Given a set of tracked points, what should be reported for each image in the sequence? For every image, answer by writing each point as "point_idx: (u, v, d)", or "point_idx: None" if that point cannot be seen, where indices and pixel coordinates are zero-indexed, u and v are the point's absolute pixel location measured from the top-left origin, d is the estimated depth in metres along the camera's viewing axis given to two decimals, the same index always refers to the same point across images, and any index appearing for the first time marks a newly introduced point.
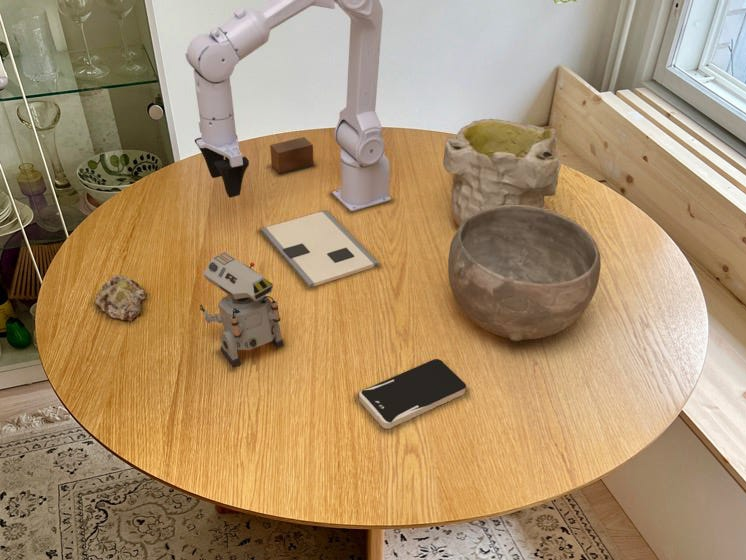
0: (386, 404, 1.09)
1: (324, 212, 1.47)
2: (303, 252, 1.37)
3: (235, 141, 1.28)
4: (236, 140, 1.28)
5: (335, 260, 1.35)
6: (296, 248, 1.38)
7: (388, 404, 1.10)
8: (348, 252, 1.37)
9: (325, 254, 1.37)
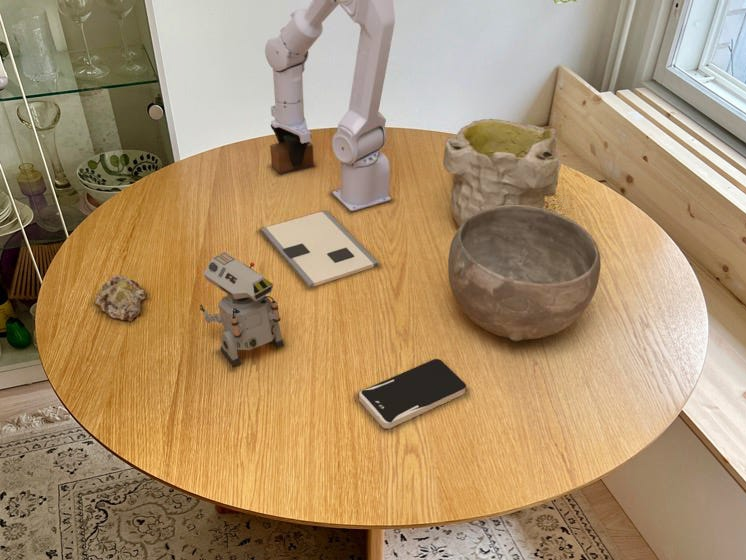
0: (386, 404, 1.09)
1: (324, 212, 1.47)
2: (303, 252, 1.37)
3: (303, 122, 1.53)
4: (304, 121, 1.53)
5: (335, 260, 1.35)
6: (296, 248, 1.38)
7: (388, 404, 1.10)
8: (348, 252, 1.37)
9: (325, 254, 1.37)
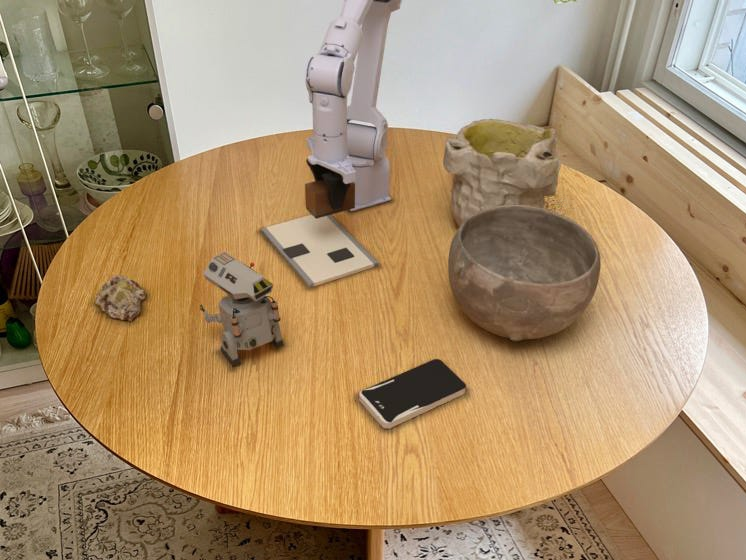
0: (386, 404, 1.09)
1: None
2: (303, 252, 1.37)
3: (346, 158, 1.28)
4: (347, 157, 1.29)
5: (335, 260, 1.35)
6: (296, 248, 1.38)
7: (388, 404, 1.10)
8: (348, 252, 1.37)
9: (325, 254, 1.37)
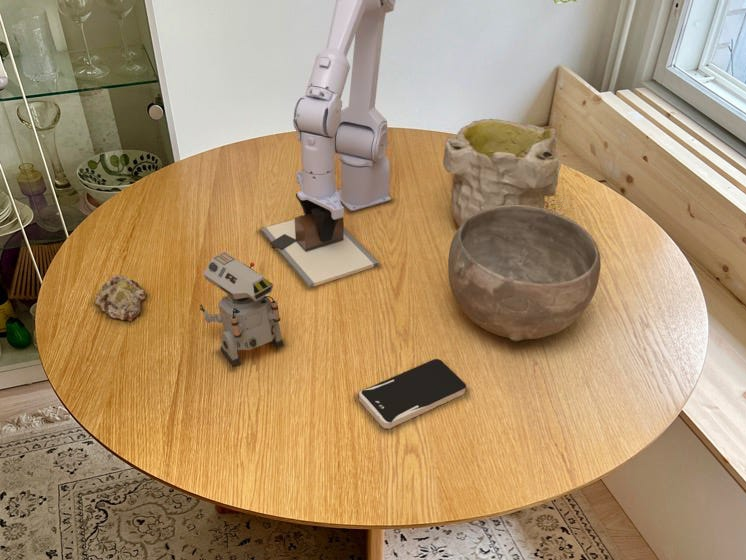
0: (386, 404, 1.09)
1: None
2: (291, 241, 1.39)
3: (335, 193, 1.32)
4: (335, 192, 1.32)
5: None
6: (282, 239, 1.39)
7: (388, 404, 1.10)
8: None
9: (325, 254, 1.37)
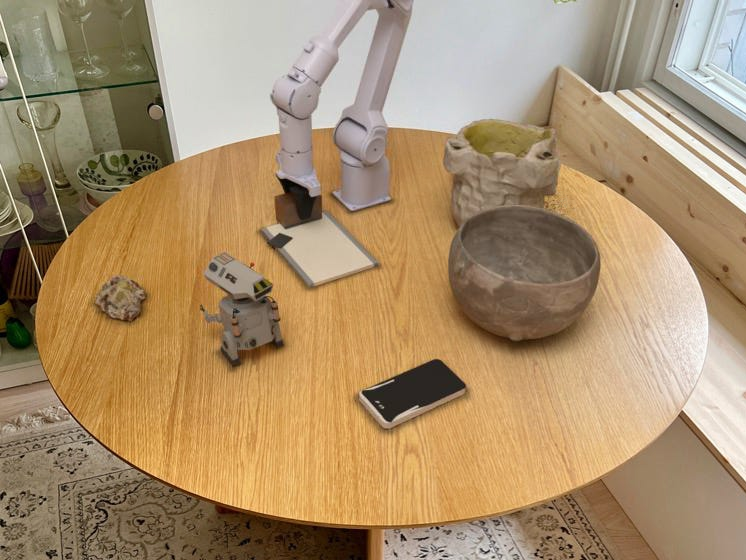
0: (386, 404, 1.09)
1: (324, 212, 1.47)
2: (288, 239, 1.39)
3: (312, 172, 1.37)
4: (313, 171, 1.37)
5: None
6: (278, 238, 1.40)
7: (388, 404, 1.10)
8: None
9: (325, 254, 1.37)
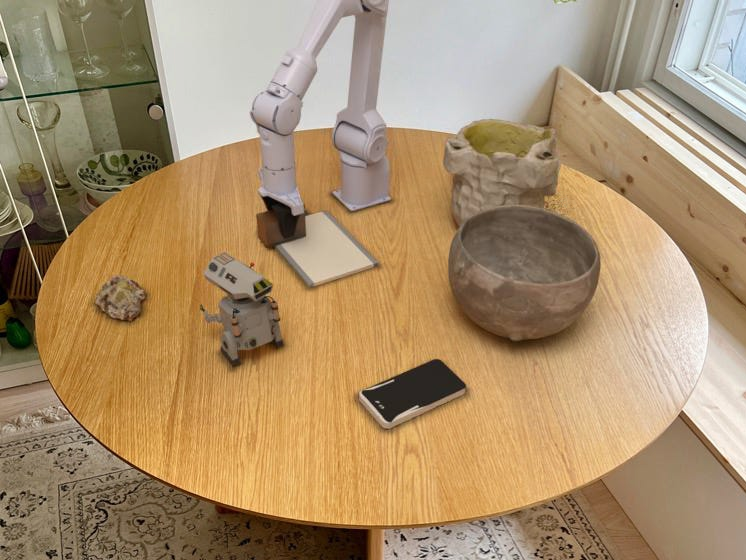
0: (386, 404, 1.09)
1: (324, 212, 1.47)
2: None
3: (295, 189, 1.32)
4: (296, 188, 1.33)
5: None
6: None
7: (388, 404, 1.10)
8: (305, 213, 1.48)
9: (325, 254, 1.37)
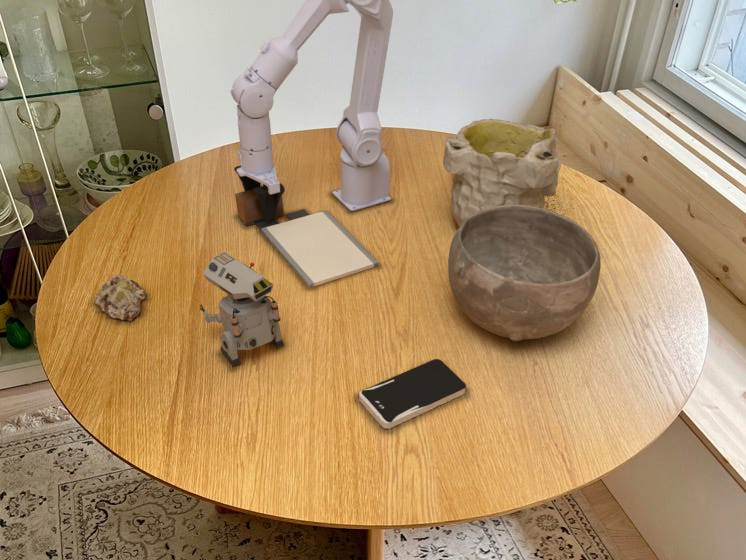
0: (386, 404, 1.09)
1: (324, 212, 1.47)
2: None
3: (272, 170, 1.39)
4: (273, 169, 1.39)
5: None
6: (268, 222, 1.45)
7: (388, 404, 1.10)
8: (305, 213, 1.48)
9: (325, 254, 1.37)
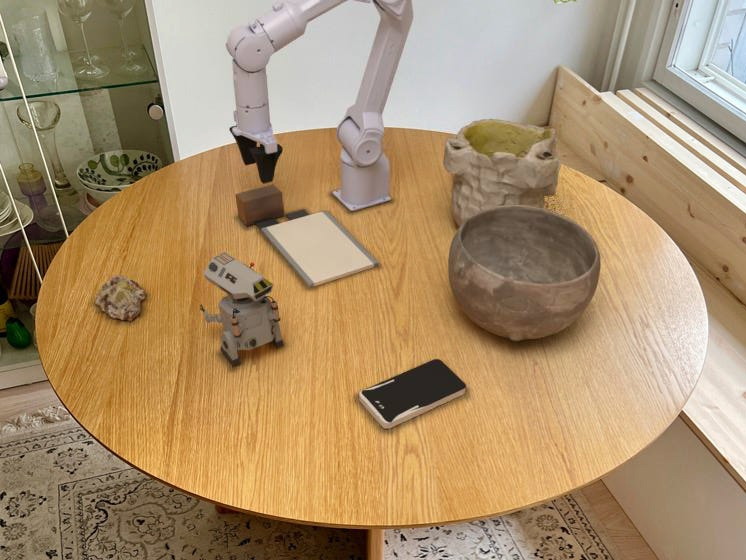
0: (386, 404, 1.09)
1: (324, 212, 1.47)
2: None
3: (269, 129, 1.33)
4: (270, 128, 1.33)
5: None
6: (268, 222, 1.45)
7: (388, 404, 1.10)
8: (305, 213, 1.48)
9: (325, 254, 1.37)
